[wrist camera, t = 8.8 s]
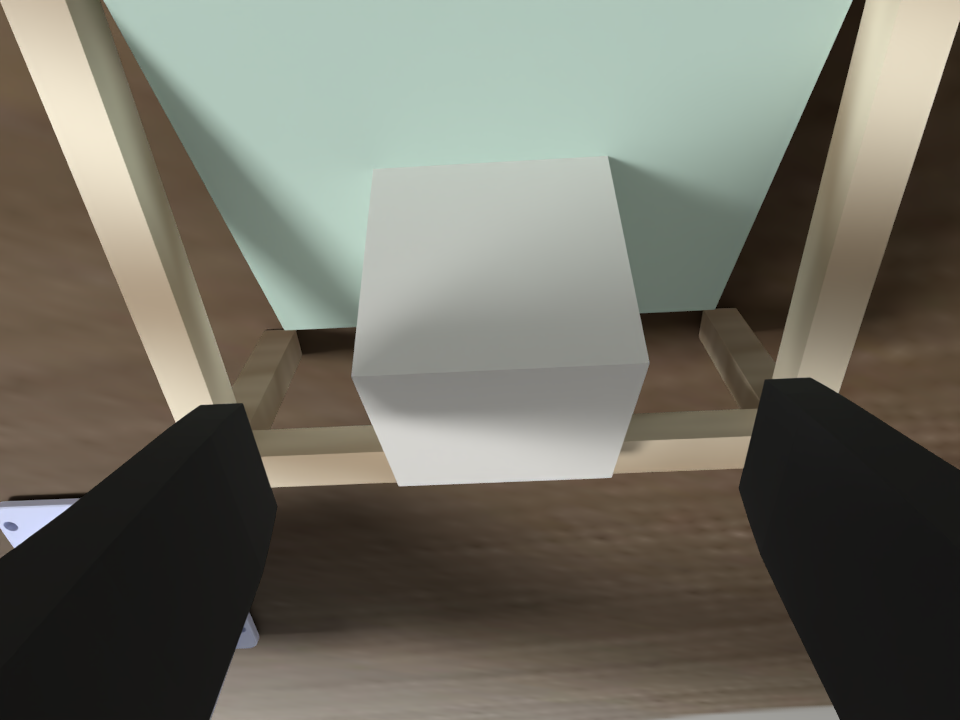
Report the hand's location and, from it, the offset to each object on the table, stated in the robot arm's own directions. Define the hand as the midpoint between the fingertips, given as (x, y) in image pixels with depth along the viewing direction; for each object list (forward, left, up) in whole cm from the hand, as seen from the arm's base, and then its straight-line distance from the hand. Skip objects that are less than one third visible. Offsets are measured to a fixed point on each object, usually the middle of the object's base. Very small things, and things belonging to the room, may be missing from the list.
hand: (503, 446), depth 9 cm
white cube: (0, 0, -7) cm, 7 cm away
